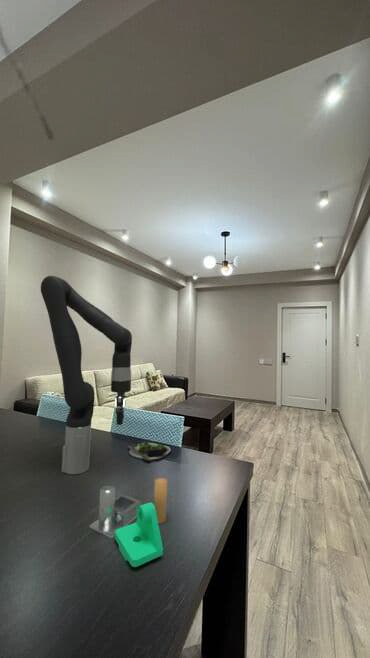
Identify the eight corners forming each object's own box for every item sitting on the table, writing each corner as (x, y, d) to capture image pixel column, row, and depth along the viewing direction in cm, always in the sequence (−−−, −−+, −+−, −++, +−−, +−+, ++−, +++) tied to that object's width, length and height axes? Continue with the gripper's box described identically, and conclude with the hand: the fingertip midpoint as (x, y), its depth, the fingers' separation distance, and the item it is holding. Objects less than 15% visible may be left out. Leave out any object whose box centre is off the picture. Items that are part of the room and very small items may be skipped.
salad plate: (116, 455, 126) (117, 445, 126) (140, 443, 142) (141, 433, 142) (154, 466, 117) (154, 455, 118) (175, 451, 133) (175, 441, 133)
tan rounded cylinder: (152, 523, 81) (154, 483, 82) (153, 515, 85) (155, 477, 85) (165, 523, 82) (167, 484, 82) (165, 515, 85) (167, 478, 85)
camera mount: (113, 540, 74) (115, 500, 75) (140, 530, 79) (142, 492, 79) (132, 573, 64) (134, 526, 65) (162, 559, 69) (164, 515, 69)
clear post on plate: (120, 504, 89) (122, 470, 90) (141, 513, 86) (143, 477, 86) (89, 527, 79) (91, 488, 79) (111, 538, 75) (113, 497, 75)
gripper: (112, 377, 118) (111, 417, 117) (109, 381, 104) (108, 426, 103) (131, 377, 120) (130, 417, 118) (130, 380, 106) (129, 426, 104)
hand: (120, 421), depth 111 cm, fingers open, 8 cm apart
